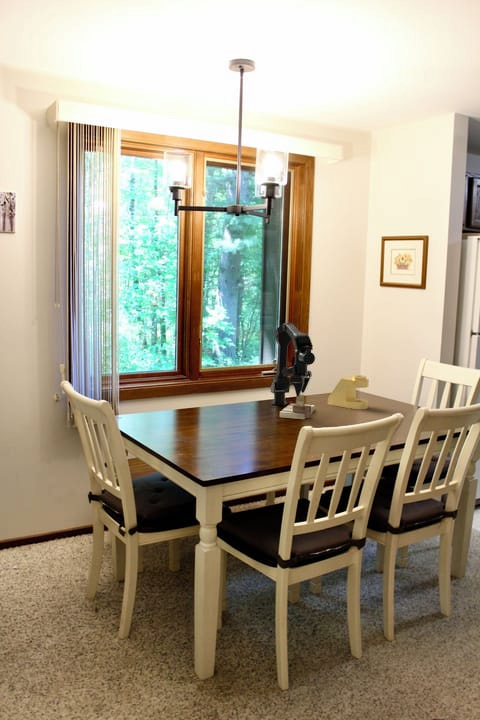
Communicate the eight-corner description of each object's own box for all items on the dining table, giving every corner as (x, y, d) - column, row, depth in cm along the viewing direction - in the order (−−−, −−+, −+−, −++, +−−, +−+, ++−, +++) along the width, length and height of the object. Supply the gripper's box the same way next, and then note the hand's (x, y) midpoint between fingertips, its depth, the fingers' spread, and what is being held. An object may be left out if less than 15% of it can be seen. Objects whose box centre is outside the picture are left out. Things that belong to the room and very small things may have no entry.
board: (290, 408, 333) (291, 403, 332) (314, 410, 329) (314, 405, 328) (279, 417, 314) (279, 411, 314) (304, 419, 310) (304, 414, 310)
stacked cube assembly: (294, 414, 317) (295, 393, 316) (311, 415, 315) (311, 394, 313) (291, 416, 313) (292, 395, 311) (308, 417, 310) (309, 396, 309)
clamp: (371, 407, 336) (372, 376, 334) (361, 410, 330) (362, 378, 327) (337, 401, 350) (338, 371, 347) (327, 404, 343) (328, 373, 340)
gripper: (289, 357, 321) (289, 389, 324) (278, 363, 304) (278, 396, 306) (312, 359, 318) (311, 391, 320) (302, 364, 300) (301, 398, 303)
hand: (300, 394), depth 312 cm, fingers open, 9 cm apart
